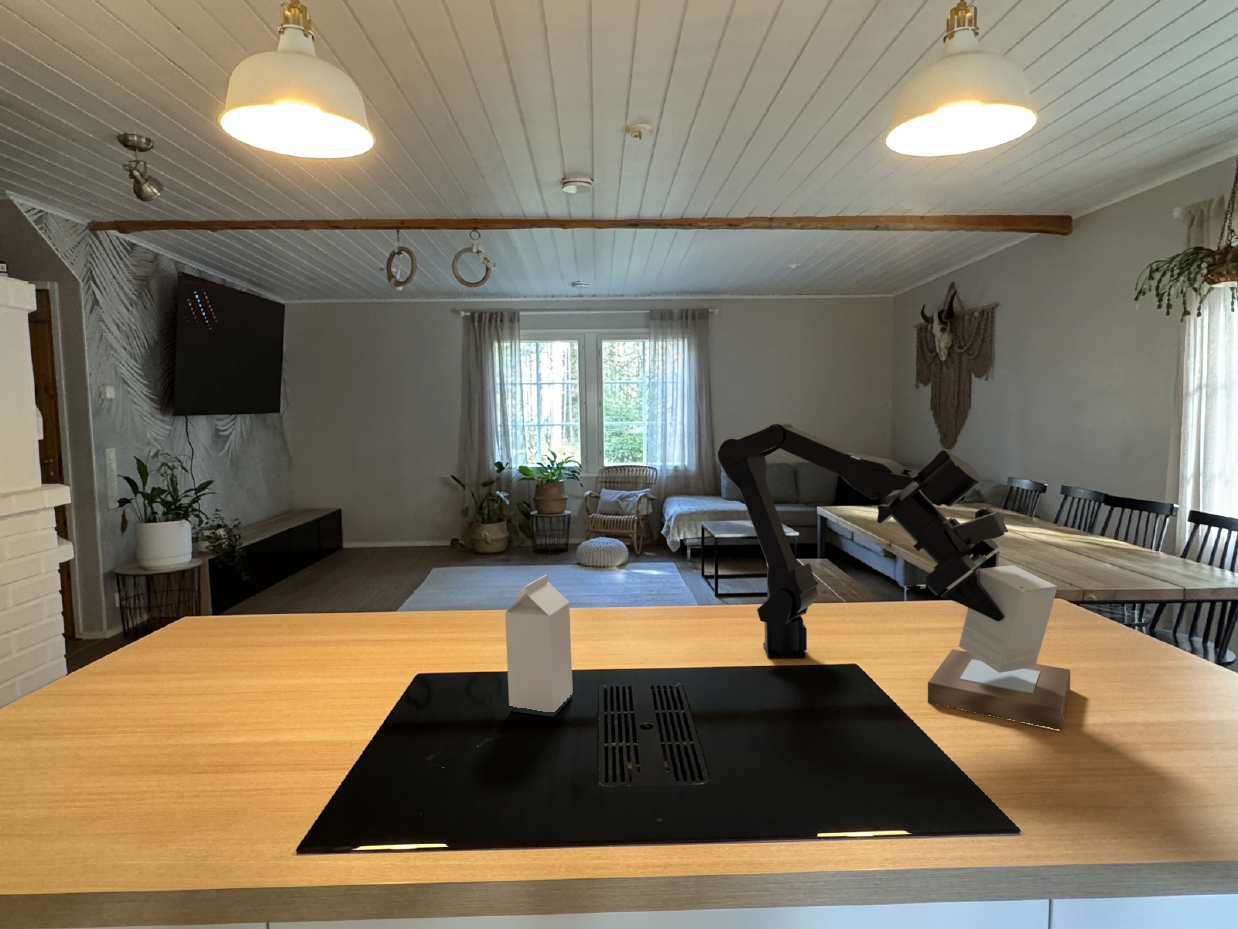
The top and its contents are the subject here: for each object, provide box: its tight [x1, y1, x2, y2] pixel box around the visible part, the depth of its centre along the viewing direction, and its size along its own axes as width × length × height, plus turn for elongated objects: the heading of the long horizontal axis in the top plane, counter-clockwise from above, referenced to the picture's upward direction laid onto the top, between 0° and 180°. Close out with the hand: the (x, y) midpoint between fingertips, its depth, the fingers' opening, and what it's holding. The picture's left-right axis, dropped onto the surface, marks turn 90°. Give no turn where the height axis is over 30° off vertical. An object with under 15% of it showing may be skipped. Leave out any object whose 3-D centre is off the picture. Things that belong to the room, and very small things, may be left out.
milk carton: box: [504, 574, 574, 712], centre depth 99 cm, size 7×7×19 cm
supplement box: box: [958, 564, 1058, 673], centre depth 95 cm, size 7×7×13 cm
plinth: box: [927, 648, 1071, 731], centre depth 98 cm, size 16×16×3 cm
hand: (1008, 611), depth 95 cm, fingers closed on supplement box, 9 cm apart
